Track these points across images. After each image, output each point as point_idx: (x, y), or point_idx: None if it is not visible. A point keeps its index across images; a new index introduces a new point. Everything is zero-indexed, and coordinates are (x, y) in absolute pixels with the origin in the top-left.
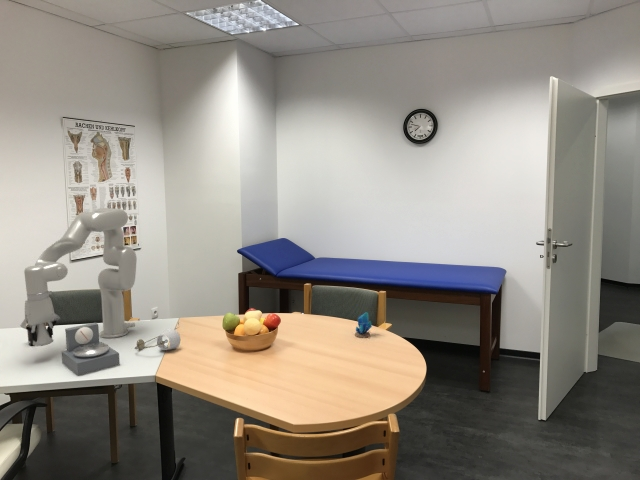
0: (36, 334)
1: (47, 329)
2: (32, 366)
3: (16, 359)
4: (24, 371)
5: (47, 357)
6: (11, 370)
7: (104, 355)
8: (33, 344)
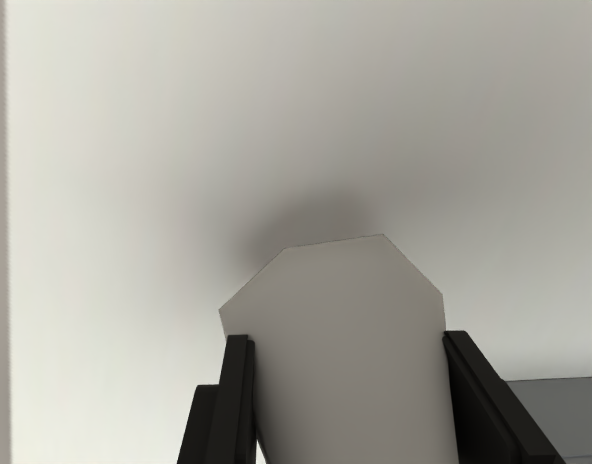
0: (267, 462)
1: (492, 437)
2: (200, 328)
3: (111, 58)
4: (136, 383)
5: (347, 208)
6: (53, 312)
7: None
8: (225, 334)
